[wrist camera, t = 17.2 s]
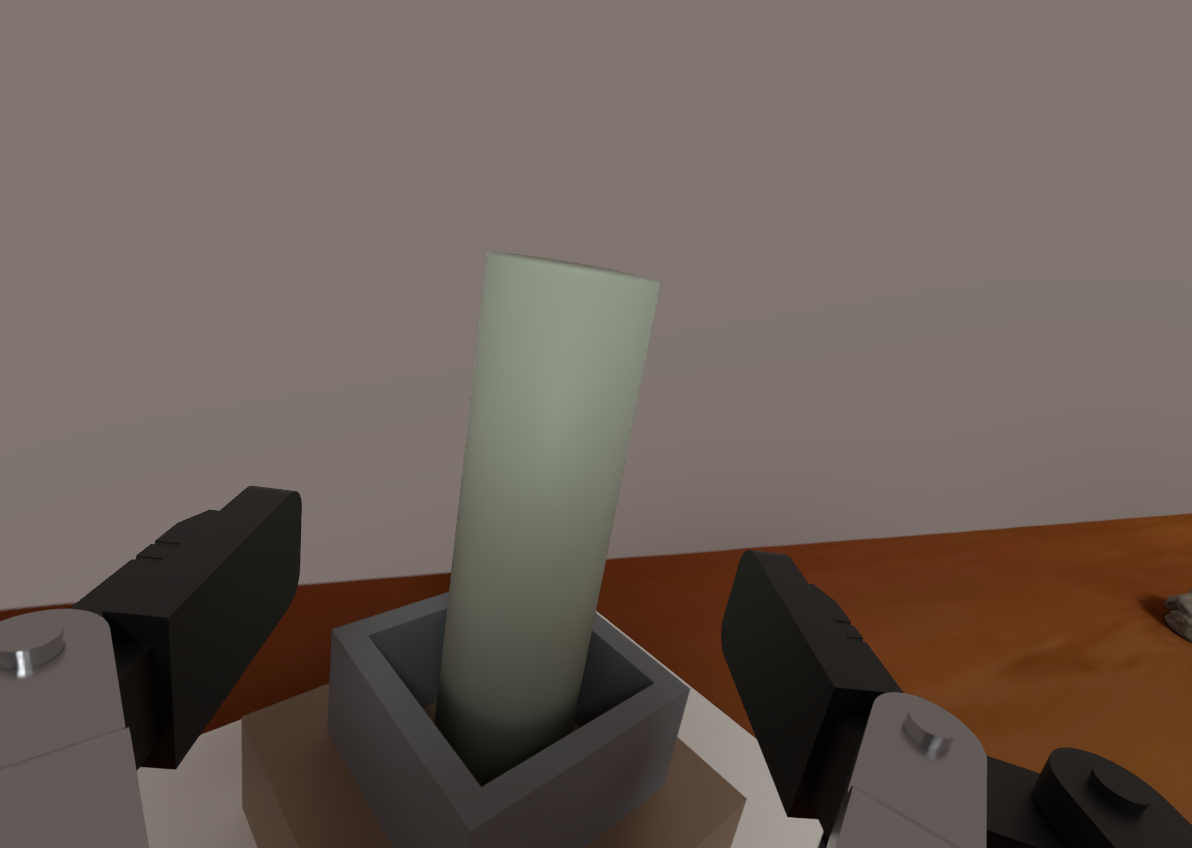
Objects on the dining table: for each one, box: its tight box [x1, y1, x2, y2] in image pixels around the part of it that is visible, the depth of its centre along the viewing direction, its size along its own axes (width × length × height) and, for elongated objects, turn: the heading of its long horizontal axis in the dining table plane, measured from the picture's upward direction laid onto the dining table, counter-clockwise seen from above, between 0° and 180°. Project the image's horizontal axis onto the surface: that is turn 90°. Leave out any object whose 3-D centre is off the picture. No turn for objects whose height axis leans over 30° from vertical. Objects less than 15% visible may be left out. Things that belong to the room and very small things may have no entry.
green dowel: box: [434, 252, 661, 787], centre depth 17 cm, size 4×4×16 cm
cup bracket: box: [137, 592, 823, 848], centre depth 20 cm, size 26×20×10 cm
